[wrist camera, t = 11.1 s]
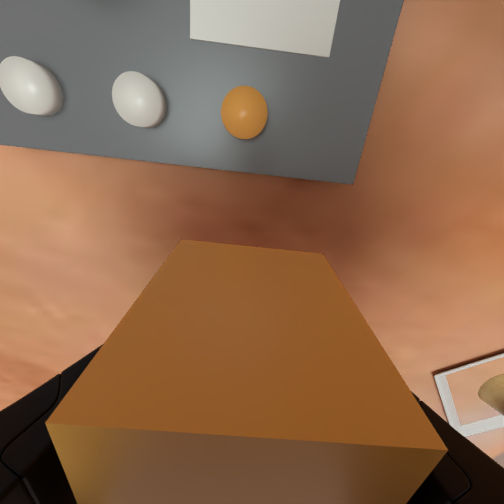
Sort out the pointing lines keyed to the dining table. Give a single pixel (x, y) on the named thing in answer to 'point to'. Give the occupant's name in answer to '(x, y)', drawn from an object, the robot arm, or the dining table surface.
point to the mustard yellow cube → (243, 392)
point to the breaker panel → (197, 81)
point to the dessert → (492, 392)
